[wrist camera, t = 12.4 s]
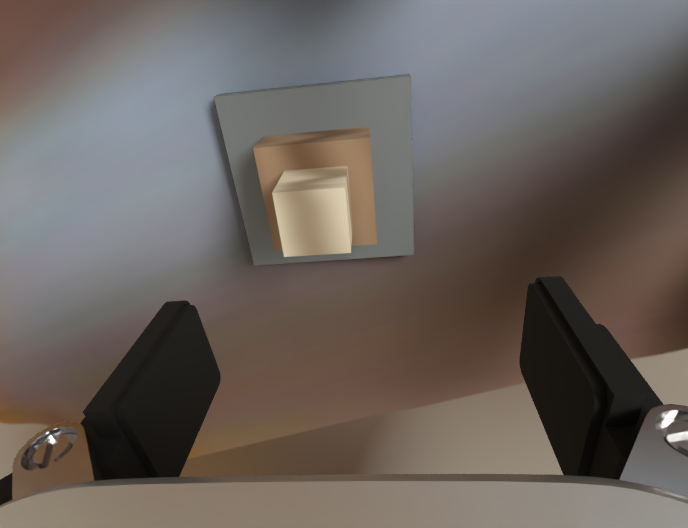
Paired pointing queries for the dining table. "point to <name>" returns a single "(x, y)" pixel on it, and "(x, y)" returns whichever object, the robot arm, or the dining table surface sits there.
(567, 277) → the dining table surface
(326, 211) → the maple cube
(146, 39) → the dining table surface
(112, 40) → the dining table surface
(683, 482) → the robot arm
